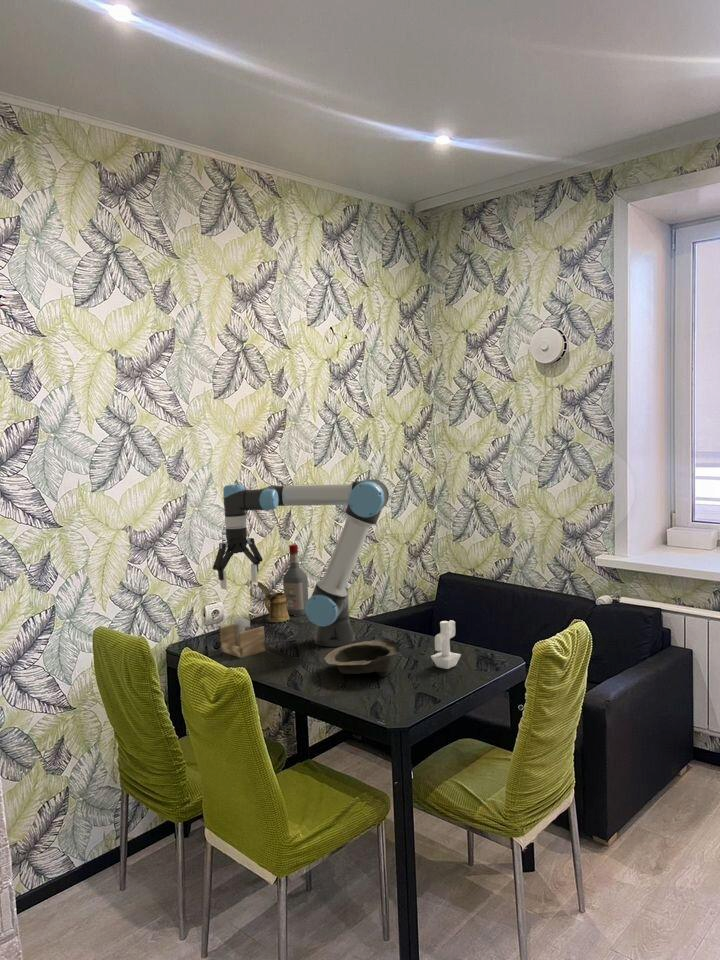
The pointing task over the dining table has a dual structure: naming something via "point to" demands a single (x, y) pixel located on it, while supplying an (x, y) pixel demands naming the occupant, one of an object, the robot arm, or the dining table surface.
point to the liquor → (295, 585)
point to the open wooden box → (242, 641)
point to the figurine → (445, 646)
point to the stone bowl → (365, 657)
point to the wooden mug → (275, 605)
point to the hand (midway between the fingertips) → (239, 585)
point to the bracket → (240, 628)
